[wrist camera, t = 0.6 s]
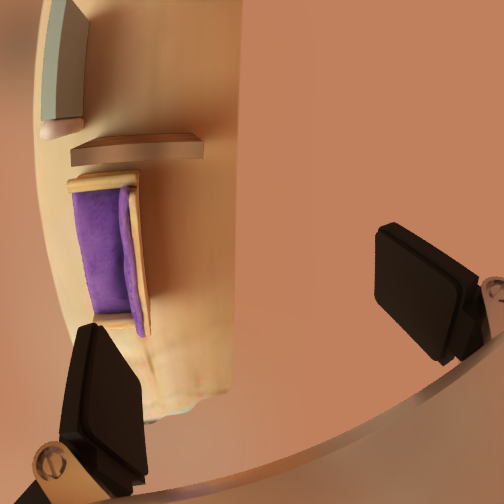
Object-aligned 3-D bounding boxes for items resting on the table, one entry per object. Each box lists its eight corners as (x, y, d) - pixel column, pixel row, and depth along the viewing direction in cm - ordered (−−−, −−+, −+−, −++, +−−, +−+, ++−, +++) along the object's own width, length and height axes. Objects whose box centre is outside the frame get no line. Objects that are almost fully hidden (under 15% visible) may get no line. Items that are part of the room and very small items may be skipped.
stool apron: (96, 150, 34) (71, 166, 24) (95, 138, 34) (70, 149, 23) (191, 145, 38) (203, 158, 28) (191, 133, 37) (203, 141, 27)
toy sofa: (78, 169, 35) (54, 188, 26) (141, 164, 37) (134, 180, 28) (98, 304, 44) (90, 348, 35) (151, 301, 46) (153, 345, 37)
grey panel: (70, 132, 32) (39, 142, 23) (76, 23, 26) (51, -2, 16) (84, 131, 33) (57, 139, 23) (91, 21, 26) (69, -6, 17)
